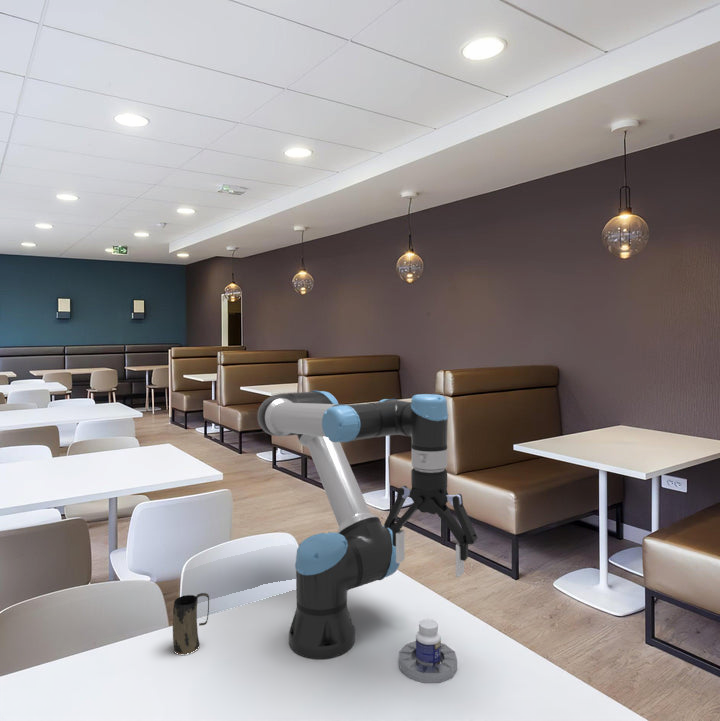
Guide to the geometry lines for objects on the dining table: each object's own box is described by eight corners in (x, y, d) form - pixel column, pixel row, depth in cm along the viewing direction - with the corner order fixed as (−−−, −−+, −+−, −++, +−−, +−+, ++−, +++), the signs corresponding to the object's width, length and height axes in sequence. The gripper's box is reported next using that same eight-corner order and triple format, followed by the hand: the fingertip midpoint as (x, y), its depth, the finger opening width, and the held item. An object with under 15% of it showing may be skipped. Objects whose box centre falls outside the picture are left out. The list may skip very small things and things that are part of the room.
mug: (171, 656, 120) (170, 603, 119) (174, 643, 125) (173, 591, 125) (209, 652, 122) (208, 599, 121) (210, 638, 127) (209, 588, 127)
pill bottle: (439, 673, 114) (439, 631, 113) (414, 670, 115) (414, 628, 114) (441, 658, 119) (441, 618, 119) (417, 655, 120) (417, 616, 120)
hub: (389, 671, 114) (389, 658, 114) (413, 643, 125) (413, 631, 125) (444, 689, 108) (444, 675, 108) (464, 658, 119) (464, 646, 119)
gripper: (368, 465, 118) (369, 561, 119) (481, 479, 106) (480, 588, 106) (385, 458, 125) (385, 550, 125) (493, 471, 112) (492, 573, 113)
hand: (429, 567), depth 116 cm, fingers open, 13 cm apart
